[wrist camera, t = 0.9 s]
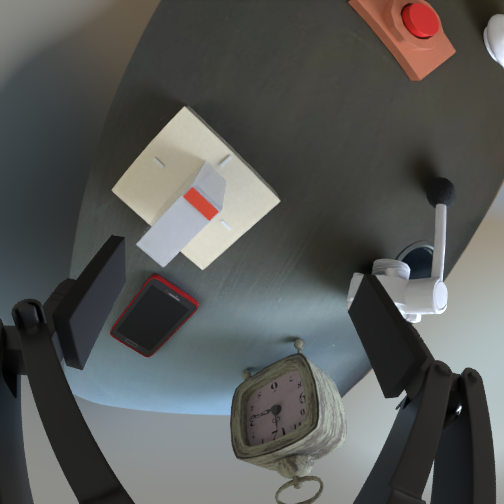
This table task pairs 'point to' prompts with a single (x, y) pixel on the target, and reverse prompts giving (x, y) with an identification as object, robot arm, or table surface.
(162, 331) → the cell phone
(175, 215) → the grey rectangular block
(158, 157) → the cream rectangular base
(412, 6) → the button
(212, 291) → the table surface
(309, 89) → the table surface
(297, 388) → the tabletop clock
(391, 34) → the button block
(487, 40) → the flower vase
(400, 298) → the mechanical valve
